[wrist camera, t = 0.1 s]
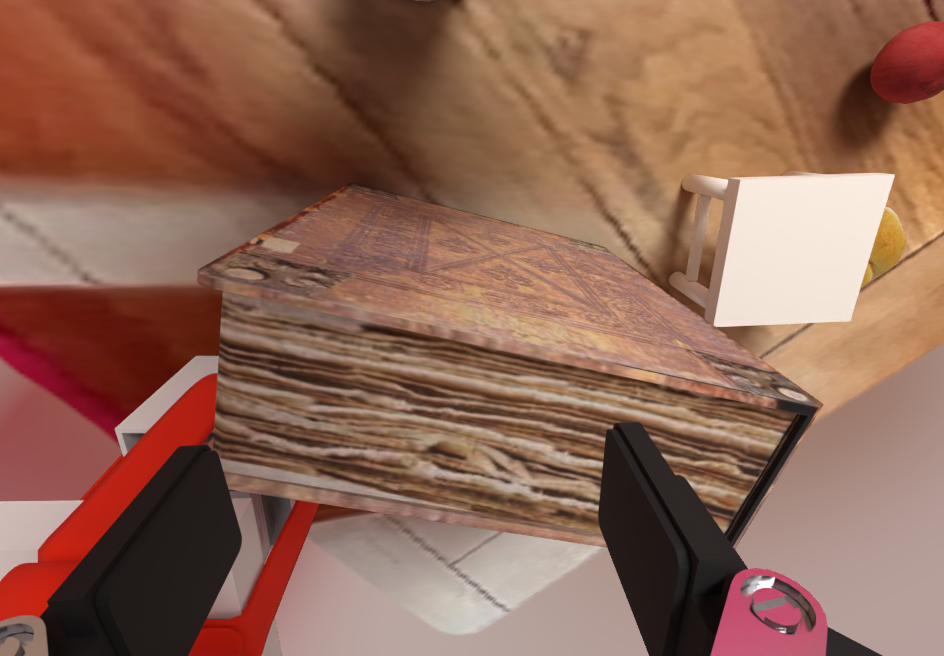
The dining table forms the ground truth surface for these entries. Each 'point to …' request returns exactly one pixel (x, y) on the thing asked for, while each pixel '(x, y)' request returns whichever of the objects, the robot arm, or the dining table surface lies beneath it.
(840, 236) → the stool
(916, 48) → the onion
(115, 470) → the gift wrap
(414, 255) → the book
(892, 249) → the bread roll
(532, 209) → the dining table surface
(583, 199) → the dining table surface
